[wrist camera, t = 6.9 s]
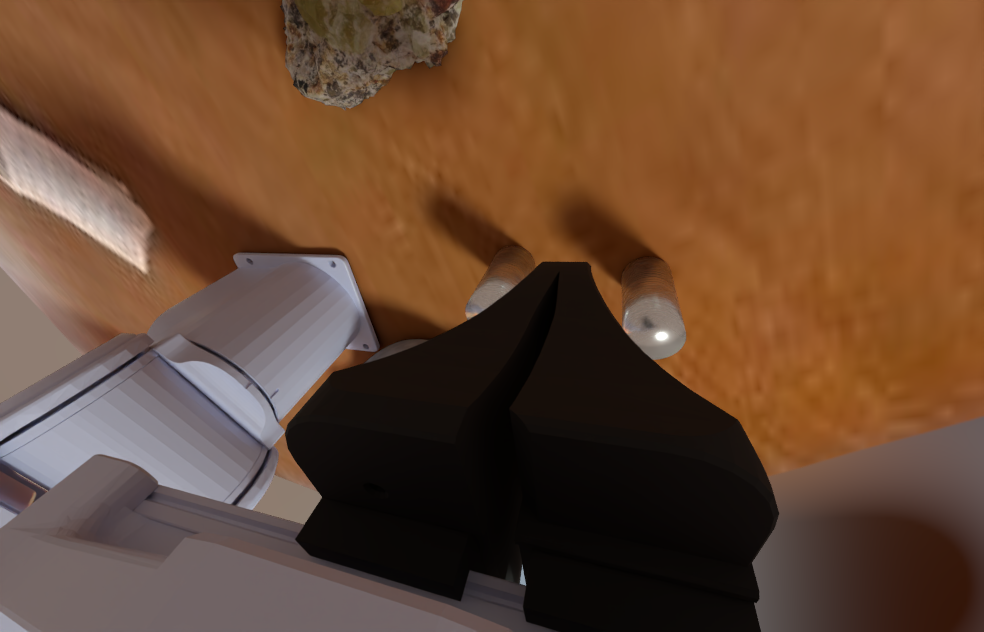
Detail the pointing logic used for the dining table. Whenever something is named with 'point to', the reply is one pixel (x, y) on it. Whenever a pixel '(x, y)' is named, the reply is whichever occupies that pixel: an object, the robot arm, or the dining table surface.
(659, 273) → the spacer posts
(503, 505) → the robot arm
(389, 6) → the mineral rock
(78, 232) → the dining table surface
